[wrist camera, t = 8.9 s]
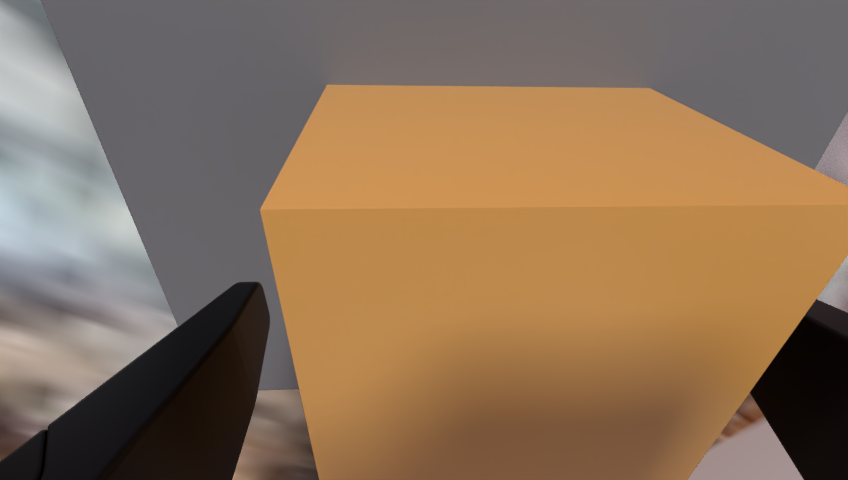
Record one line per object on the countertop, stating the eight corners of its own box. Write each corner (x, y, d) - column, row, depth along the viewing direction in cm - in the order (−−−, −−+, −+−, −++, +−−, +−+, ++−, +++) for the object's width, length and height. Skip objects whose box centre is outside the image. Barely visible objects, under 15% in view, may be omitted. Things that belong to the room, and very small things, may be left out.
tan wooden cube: (351, 325, 12) (328, 520, 8) (327, 84, 8) (260, 209, 4) (577, 319, 12) (670, 502, 8) (649, 88, 9) (884, 204, 5)
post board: (216, 366, 14) (161, 493, 11) (44, -92, 7) (-247, -136, 4) (679, 351, 15) (761, 462, 12) (896, -67, 8) (1231, -84, 5)
